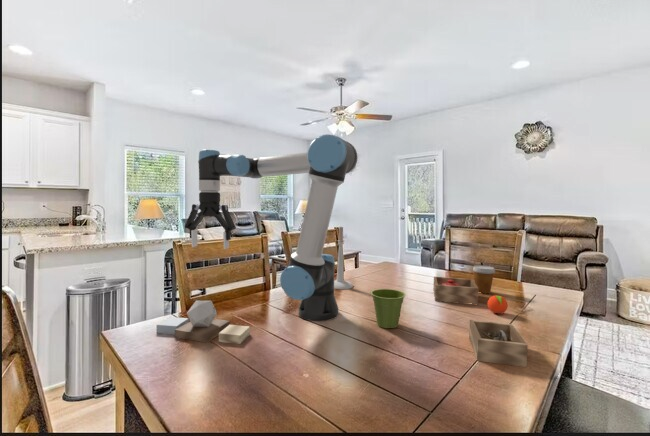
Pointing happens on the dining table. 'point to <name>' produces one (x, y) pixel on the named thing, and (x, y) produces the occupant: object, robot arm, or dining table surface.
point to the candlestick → (341, 266)
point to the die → (202, 313)
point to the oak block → (234, 334)
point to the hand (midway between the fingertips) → (210, 247)
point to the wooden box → (455, 290)
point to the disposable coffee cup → (483, 277)
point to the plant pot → (387, 306)
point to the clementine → (497, 304)
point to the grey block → (171, 325)
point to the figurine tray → (497, 344)
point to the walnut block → (201, 331)
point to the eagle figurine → (501, 336)
